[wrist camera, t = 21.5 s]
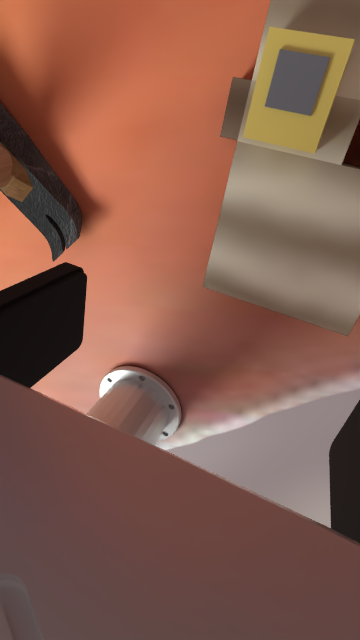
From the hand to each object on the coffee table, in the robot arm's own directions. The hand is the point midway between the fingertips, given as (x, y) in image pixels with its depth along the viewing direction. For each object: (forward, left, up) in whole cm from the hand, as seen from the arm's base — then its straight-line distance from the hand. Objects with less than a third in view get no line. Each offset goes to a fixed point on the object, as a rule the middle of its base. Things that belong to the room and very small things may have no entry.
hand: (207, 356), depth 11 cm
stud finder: (+8, +2, -21) cm, 23 cm away
